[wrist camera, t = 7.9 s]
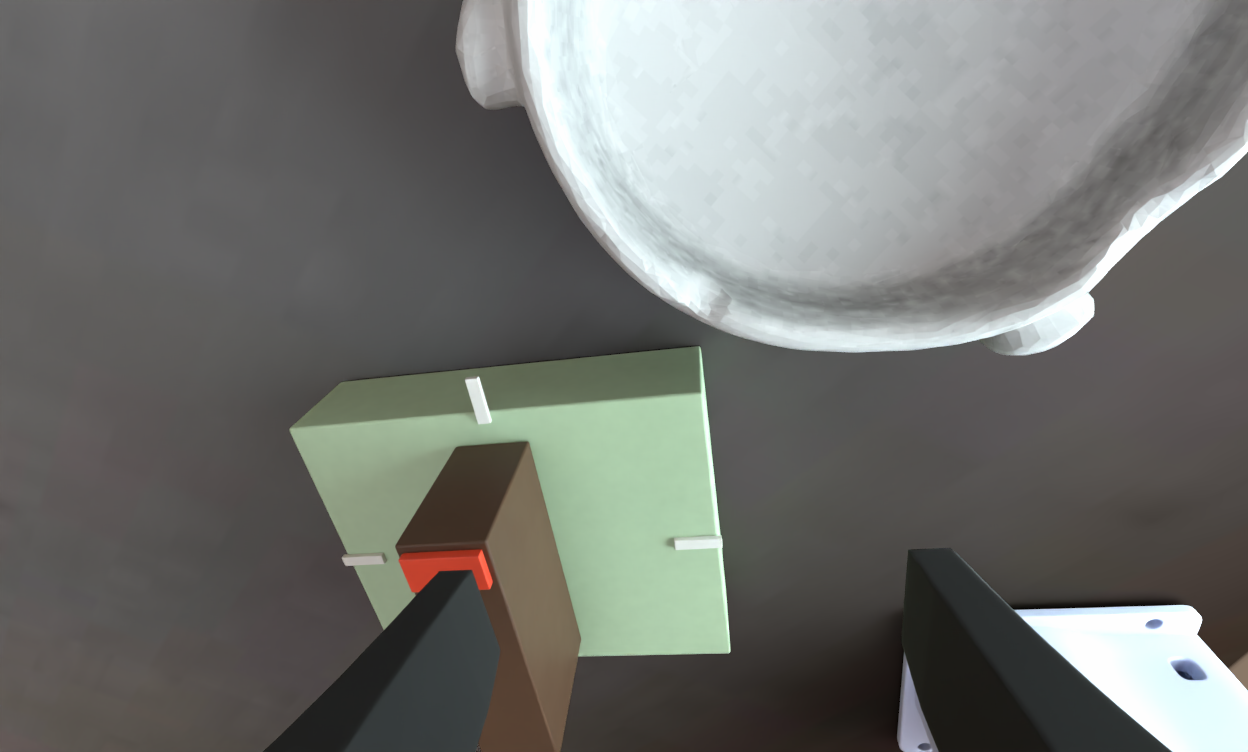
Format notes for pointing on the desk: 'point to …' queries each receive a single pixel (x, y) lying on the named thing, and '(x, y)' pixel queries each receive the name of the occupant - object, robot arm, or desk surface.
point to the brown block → (504, 585)
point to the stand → (547, 483)
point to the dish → (872, 151)
